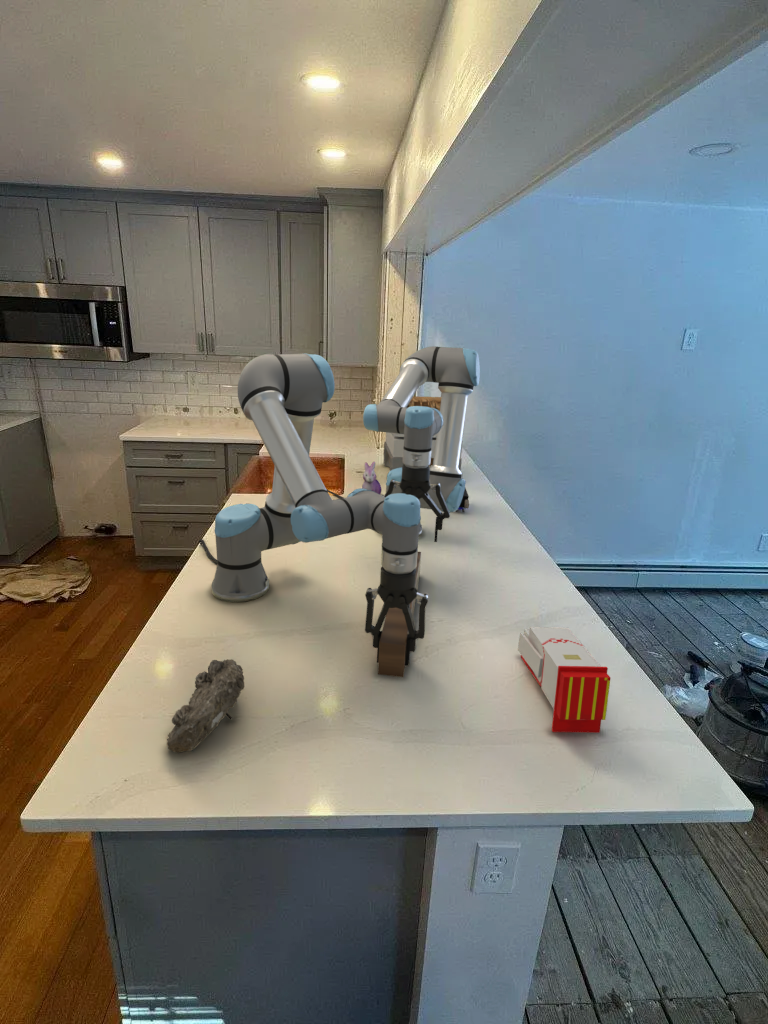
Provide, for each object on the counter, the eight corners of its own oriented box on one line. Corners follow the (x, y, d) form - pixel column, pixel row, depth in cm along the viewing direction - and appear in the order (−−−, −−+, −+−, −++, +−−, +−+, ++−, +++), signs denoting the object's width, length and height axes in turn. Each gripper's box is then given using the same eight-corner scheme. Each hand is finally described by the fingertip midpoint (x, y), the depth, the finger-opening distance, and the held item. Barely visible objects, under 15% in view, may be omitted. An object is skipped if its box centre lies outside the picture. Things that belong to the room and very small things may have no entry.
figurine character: (469, 517, 223) (463, 501, 236) (471, 500, 219) (465, 484, 233) (452, 516, 222) (447, 500, 236) (454, 499, 219) (449, 483, 232)
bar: (400, 574, 169) (402, 550, 167) (419, 576, 169) (421, 551, 166) (377, 674, 123) (379, 642, 120) (403, 677, 122) (405, 645, 120)
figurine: (366, 502, 230) (367, 466, 225) (355, 494, 239) (356, 460, 234) (386, 499, 235) (388, 464, 229) (375, 492, 243) (377, 458, 238)
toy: (564, 611, 133) (619, 673, 103) (558, 664, 135) (611, 739, 106) (512, 610, 132) (554, 672, 103) (508, 663, 135) (547, 738, 106)
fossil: (192, 660, 117) (244, 628, 112) (224, 691, 120) (276, 661, 115) (142, 746, 98) (202, 712, 93) (182, 779, 101) (242, 748, 96)
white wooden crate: (382, 463, 289) (386, 382, 275) (445, 464, 293) (451, 384, 279) (390, 482, 257) (394, 392, 243) (460, 483, 261) (468, 394, 247)
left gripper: (351, 570, 117) (349, 666, 124) (442, 579, 115) (434, 675, 122) (358, 555, 124) (355, 647, 131) (443, 563, 122) (435, 656, 129)
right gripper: (368, 464, 150) (365, 539, 157) (462, 472, 148) (455, 547, 155) (372, 458, 157) (369, 529, 164) (462, 465, 155) (456, 537, 162)
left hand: (393, 660), depth 127 cm, fingers closed on bar, 6 cm apart
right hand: (411, 538), depth 160 cm, fingers open, 13 cm apart
